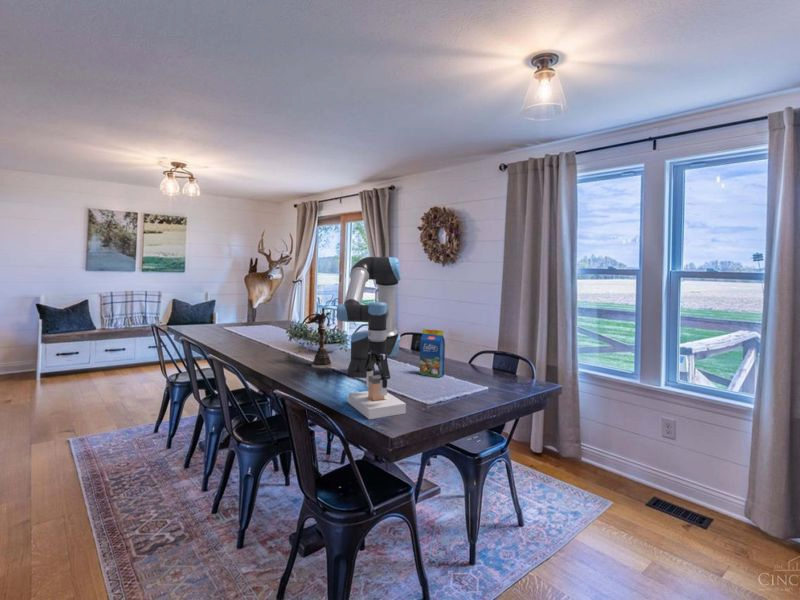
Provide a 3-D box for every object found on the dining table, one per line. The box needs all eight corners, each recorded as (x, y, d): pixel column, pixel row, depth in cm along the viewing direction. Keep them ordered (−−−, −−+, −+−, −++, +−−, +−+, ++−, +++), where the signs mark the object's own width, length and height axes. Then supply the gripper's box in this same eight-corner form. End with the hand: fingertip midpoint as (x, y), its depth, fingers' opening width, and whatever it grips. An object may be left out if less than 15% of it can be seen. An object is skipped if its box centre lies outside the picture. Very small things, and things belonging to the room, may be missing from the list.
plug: (368, 406, 175) (368, 376, 174) (379, 405, 178) (379, 375, 177) (373, 410, 171) (373, 379, 170) (384, 408, 173) (384, 377, 172)
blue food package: (439, 378, 224) (440, 331, 222) (419, 374, 230) (420, 329, 228) (444, 375, 229) (445, 330, 227) (424, 372, 235) (425, 328, 233)
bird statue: (299, 365, 246) (299, 305, 243) (315, 361, 256) (315, 304, 254) (319, 369, 236) (319, 307, 234) (335, 365, 247) (336, 306, 244)
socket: (348, 402, 180) (348, 393, 180) (382, 397, 188) (382, 389, 187) (369, 419, 161) (369, 409, 160) (405, 413, 168) (405, 403, 168)
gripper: (357, 335, 181) (356, 384, 183) (381, 345, 159) (381, 400, 161) (372, 334, 185) (372, 382, 186) (399, 344, 163) (398, 398, 164)
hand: (376, 390), depth 174 cm, fingers open, 13 cm apart
